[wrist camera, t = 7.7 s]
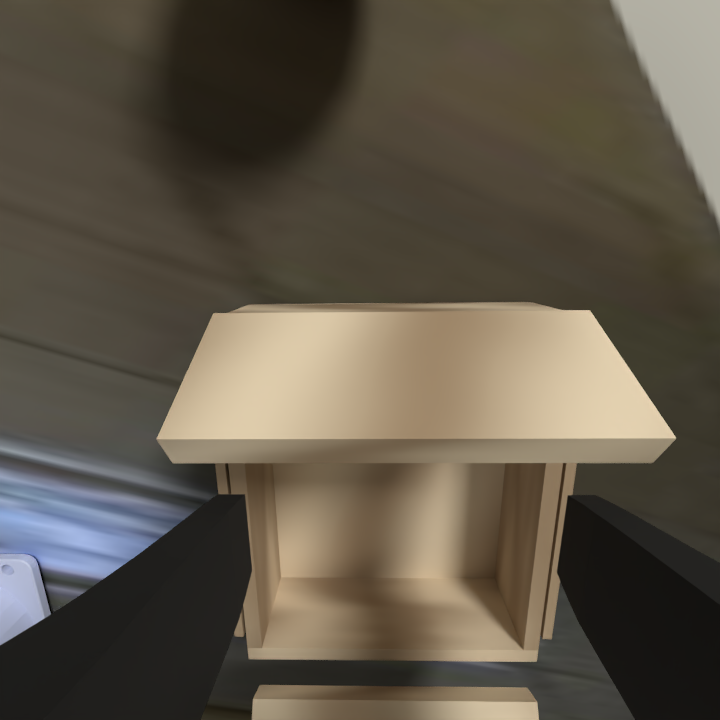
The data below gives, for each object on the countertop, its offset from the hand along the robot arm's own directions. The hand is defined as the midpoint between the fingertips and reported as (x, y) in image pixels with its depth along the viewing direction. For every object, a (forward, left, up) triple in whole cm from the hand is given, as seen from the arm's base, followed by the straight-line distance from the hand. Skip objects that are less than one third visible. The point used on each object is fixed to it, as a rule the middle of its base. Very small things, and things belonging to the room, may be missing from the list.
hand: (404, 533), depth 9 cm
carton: (0, -2, -6) cm, 7 cm away
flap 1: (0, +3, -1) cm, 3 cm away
